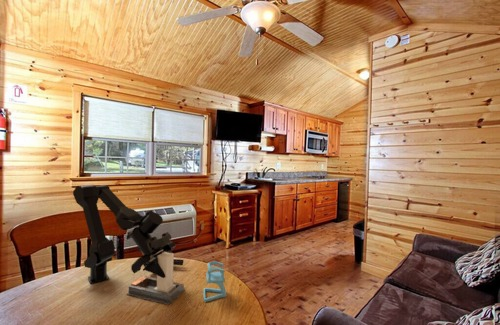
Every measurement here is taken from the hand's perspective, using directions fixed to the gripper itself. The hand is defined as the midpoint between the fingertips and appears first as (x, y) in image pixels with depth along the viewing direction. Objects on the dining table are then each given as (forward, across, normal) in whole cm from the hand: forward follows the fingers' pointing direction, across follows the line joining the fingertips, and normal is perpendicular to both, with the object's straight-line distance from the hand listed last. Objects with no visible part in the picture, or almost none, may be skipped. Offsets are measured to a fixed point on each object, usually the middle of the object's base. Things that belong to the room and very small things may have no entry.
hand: (168, 274), depth 88 cm
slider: (+4, 0, +6) cm, 8 cm away
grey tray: (+2, 0, +9) cm, 9 cm away
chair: (+17, +6, -6) cm, 19 cm away
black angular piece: (-5, +20, +16) cm, 26 cm away
